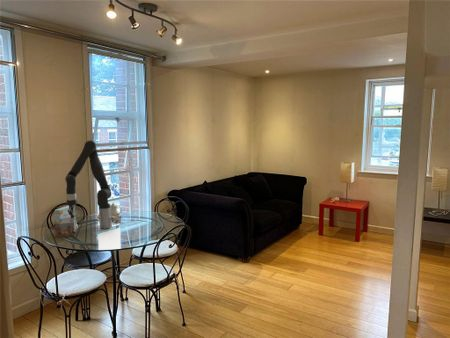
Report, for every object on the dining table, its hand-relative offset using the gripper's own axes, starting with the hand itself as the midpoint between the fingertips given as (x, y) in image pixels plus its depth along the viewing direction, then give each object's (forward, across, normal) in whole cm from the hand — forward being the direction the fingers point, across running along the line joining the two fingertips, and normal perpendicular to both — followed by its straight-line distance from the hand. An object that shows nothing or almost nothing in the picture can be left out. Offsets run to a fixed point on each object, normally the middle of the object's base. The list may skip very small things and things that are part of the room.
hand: (72, 219), depth 275 cm
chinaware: (+9, -27, +25) cm, 39 cm away
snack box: (+9, -21, -13) cm, 26 cm away
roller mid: (+4, +9, +1) cm, 10 cm away
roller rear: (+4, +1, 0) cm, 4 cm away
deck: (+9, +7, 0) cm, 11 cm away
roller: (+6, +15, 0) cm, 16 cm away
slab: (+4, +10, 0) cm, 11 cm away
